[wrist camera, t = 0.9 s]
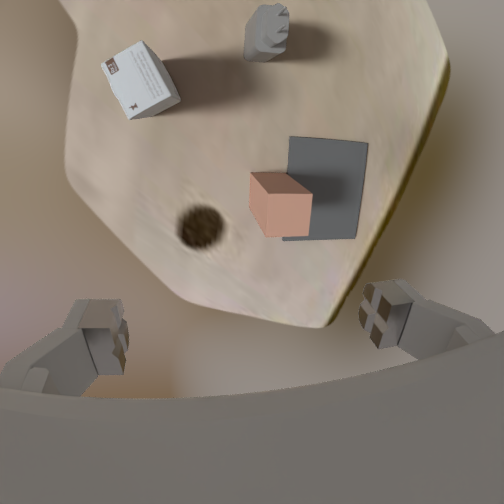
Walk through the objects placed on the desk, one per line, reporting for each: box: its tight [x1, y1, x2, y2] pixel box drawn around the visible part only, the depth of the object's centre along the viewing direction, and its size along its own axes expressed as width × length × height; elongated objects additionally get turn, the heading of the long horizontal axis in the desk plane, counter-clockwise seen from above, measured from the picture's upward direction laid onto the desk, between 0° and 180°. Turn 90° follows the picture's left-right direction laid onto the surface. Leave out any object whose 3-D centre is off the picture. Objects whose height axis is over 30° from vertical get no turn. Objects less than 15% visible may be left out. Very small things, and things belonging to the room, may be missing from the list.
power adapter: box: [244, 3, 289, 62], centre depth 27 cm, size 3×5×12 cm, turn 177°
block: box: [249, 173, 313, 237], centre depth 36 cm, size 4×4×10 cm
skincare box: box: [101, 40, 181, 120], centre depth 27 cm, size 6×4×12 cm
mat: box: [282, 137, 368, 241], centre depth 42 cm, size 14×11×1 cm
